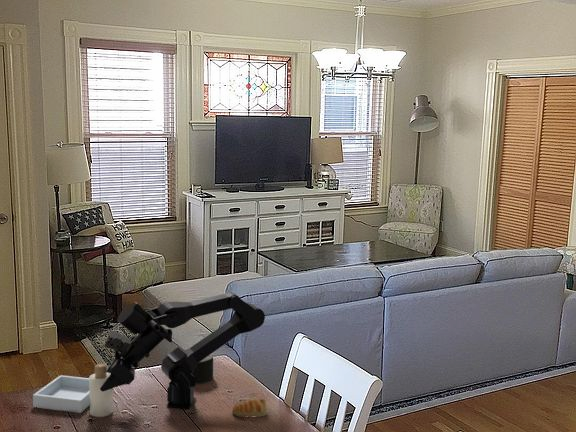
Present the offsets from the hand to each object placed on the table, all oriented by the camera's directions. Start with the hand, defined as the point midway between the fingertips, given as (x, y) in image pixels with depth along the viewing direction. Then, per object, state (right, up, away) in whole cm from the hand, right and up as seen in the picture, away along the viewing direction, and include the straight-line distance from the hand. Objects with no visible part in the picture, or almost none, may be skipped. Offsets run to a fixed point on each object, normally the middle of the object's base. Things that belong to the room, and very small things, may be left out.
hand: (103, 383), depth 174 cm
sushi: (+22, -5, +25) cm, 34 cm away
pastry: (+40, -9, +3) cm, 41 cm away
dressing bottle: (-1, -8, +1) cm, 8 cm away
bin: (-12, -7, +8) cm, 16 cm away
